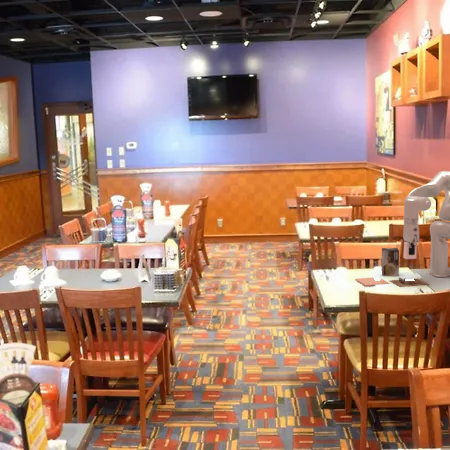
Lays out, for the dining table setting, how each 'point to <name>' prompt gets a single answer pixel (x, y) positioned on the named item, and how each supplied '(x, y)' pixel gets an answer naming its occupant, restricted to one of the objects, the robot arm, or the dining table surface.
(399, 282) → the brown rectangular board
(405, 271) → the dining table surface
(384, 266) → the coffee box
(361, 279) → the reddish pink flat square
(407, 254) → the pink rounded block
